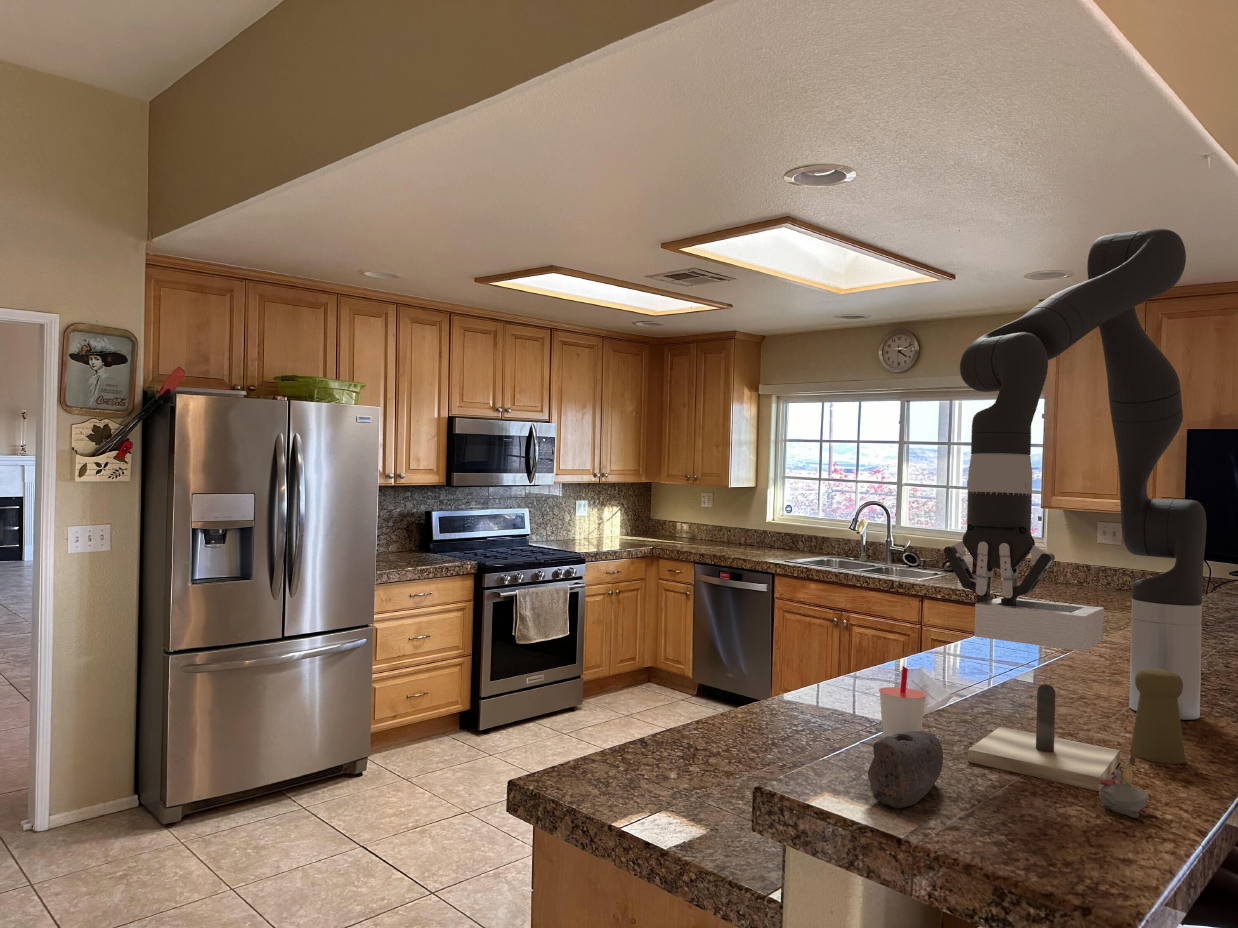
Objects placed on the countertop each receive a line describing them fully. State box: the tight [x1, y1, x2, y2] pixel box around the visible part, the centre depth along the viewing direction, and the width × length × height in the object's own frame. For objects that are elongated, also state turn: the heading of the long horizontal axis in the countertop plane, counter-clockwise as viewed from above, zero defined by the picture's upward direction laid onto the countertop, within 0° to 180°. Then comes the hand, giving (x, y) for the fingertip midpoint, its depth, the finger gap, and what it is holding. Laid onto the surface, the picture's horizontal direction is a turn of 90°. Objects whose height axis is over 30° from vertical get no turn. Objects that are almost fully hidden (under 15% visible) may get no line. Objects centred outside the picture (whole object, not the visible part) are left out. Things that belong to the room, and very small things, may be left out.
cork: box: [1129, 668, 1187, 765], centre depth 108 cm, size 6×6×11 cm
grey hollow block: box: [973, 596, 1105, 652], centre depth 104 cm, size 12×12×4 cm
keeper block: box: [967, 683, 1121, 792], centre depth 103 cm, size 14×14×10 cm
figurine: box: [1098, 754, 1149, 819], centre depth 88 cm, size 5×4×6 cm
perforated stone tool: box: [867, 730, 944, 810], centre depth 90 cm, size 15×5×7 cm, turn 138°
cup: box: [878, 665, 928, 739], centre depth 99 cm, size 5×5×12 cm
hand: (995, 625), depth 108 cm, fingers closed on grey hollow block
